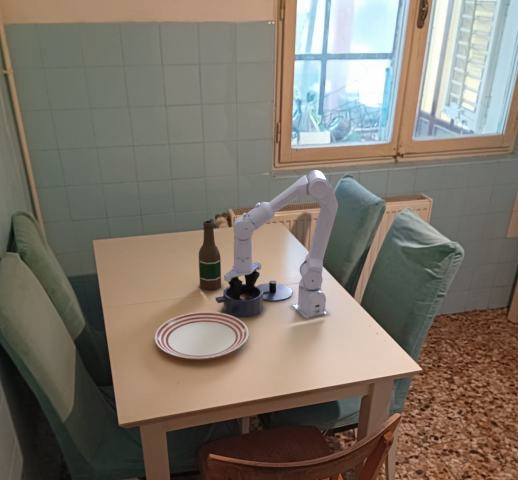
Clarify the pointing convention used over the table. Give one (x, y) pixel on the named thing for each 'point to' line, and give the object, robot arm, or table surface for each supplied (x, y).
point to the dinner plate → (201, 335)
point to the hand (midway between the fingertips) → (243, 295)
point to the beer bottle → (209, 260)
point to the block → (244, 297)
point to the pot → (243, 302)
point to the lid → (276, 291)
